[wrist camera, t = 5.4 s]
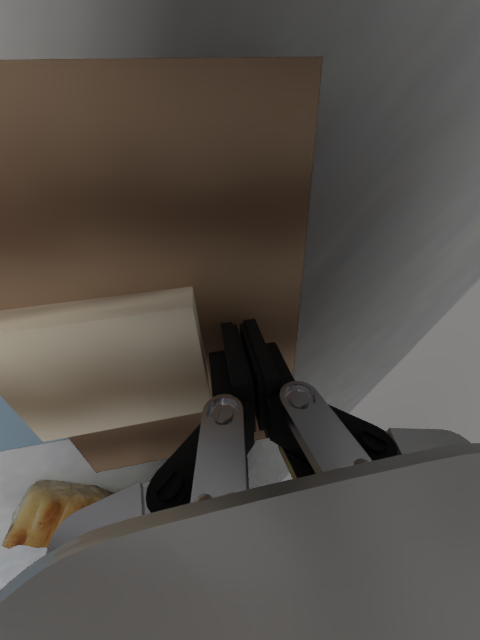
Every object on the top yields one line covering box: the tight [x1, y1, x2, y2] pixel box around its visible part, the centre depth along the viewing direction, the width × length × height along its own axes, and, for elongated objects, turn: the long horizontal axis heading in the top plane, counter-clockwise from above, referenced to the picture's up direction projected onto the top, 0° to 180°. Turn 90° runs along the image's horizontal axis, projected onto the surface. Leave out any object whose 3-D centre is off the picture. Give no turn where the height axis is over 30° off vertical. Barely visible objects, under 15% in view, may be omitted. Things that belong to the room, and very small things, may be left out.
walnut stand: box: [0, 57, 323, 473], centre depth 13 cm, size 20×14×3 cm
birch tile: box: [0, 286, 212, 442], centre depth 11 cm, size 6×8×2 cm
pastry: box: [2, 480, 115, 549], centre depth 22 cm, size 9×7×4 cm
